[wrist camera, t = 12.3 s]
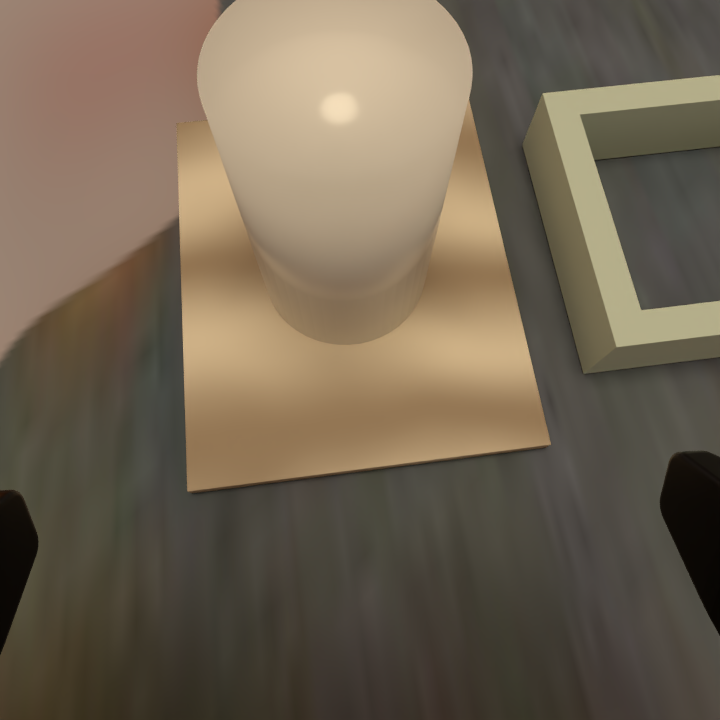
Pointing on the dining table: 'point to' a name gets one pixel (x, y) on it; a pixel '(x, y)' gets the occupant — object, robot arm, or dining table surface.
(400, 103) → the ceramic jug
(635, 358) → the glass holder
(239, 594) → the dining table surface
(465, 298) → the serving board
